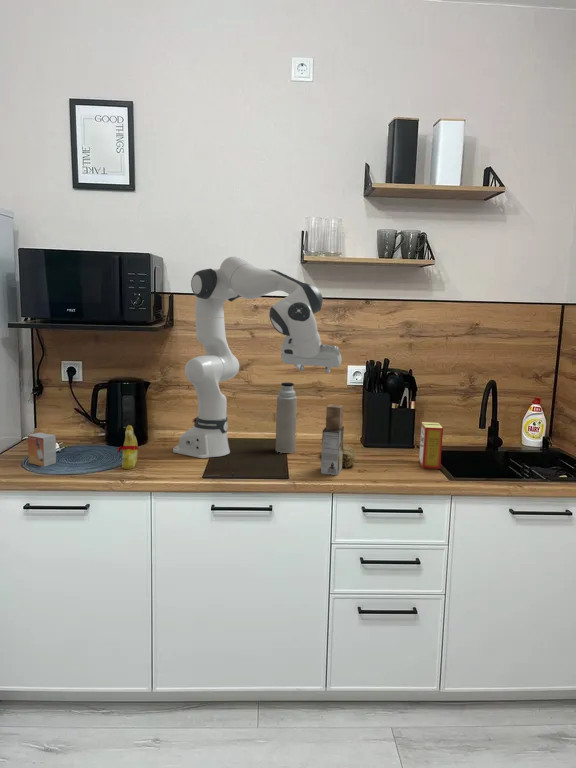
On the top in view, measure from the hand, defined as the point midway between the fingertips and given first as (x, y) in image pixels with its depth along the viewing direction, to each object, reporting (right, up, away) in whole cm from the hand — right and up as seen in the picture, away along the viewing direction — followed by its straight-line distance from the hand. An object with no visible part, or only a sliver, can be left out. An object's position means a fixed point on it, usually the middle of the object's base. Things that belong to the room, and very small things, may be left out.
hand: (314, 370), depth 199 cm
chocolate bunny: (-67, -34, +10) cm, 76 cm away
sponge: (+10, -35, +25) cm, 44 cm away
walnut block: (+7, -20, +9) cm, 24 cm away
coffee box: (+7, -37, +11) cm, 39 cm away
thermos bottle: (-10, -32, +35) cm, 49 cm away
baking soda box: (+45, -36, +23) cm, 62 cm away
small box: (-98, -33, +9) cm, 104 cm away
